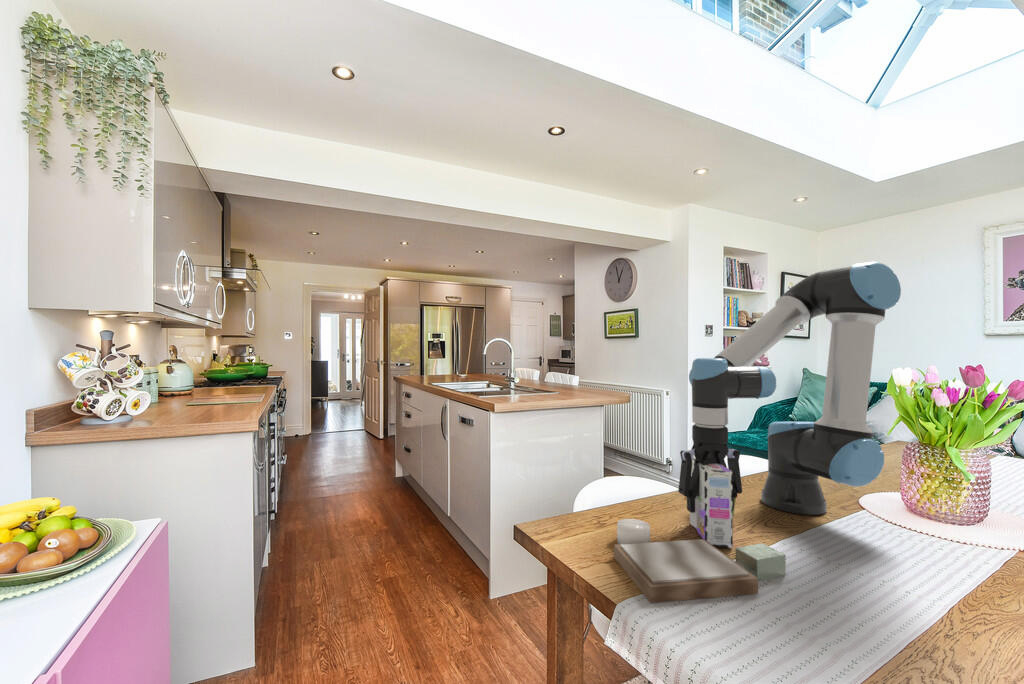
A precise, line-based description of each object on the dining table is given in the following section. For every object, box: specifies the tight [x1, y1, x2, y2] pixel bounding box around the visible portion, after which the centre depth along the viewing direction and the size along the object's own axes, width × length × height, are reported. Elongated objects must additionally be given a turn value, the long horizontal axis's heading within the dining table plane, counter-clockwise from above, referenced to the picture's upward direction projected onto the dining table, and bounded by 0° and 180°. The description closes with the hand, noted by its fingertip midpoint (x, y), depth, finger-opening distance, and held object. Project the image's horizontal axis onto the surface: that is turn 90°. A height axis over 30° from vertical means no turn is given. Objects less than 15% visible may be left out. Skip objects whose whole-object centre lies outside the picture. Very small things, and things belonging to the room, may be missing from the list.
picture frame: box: [613, 538, 759, 604], centre depth 82 cm, size 20×16×3 cm
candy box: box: [691, 456, 734, 549], centre depth 99 cm, size 14×6×16 cm, turn 169°
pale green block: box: [734, 542, 787, 581], centre depth 83 cm, size 7×5×4 cm
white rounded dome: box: [616, 518, 651, 544], centre depth 95 cm, size 7×7×4 cm
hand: (710, 524), depth 99 cm, fingers closed on candy box, 7 cm apart
